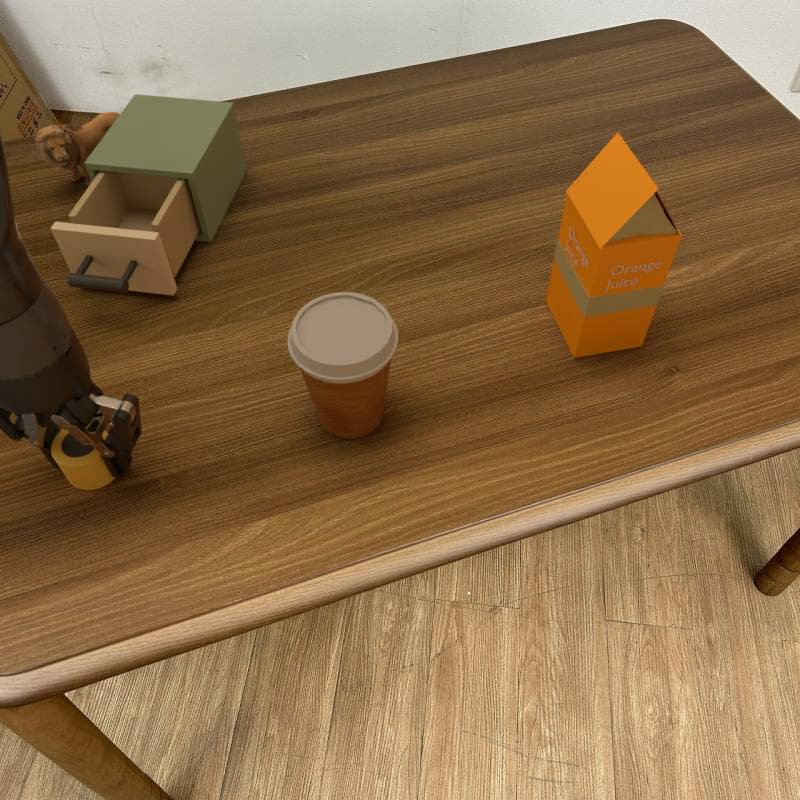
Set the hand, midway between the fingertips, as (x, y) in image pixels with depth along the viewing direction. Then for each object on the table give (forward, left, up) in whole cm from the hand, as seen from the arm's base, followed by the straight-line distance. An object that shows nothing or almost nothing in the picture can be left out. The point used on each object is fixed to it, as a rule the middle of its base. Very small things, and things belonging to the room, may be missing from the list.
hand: (93, 464), depth 68 cm
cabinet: (-6, +40, 0) cm, 40 cm away
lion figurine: (-18, +43, -1) cm, 47 cm away
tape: (0, 0, 0) cm, 0 cm away
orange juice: (+45, +26, -1) cm, 52 cm away
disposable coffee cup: (+22, +10, -1) cm, 24 cm away
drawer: (-6, +27, +1) cm, 27 cm away
